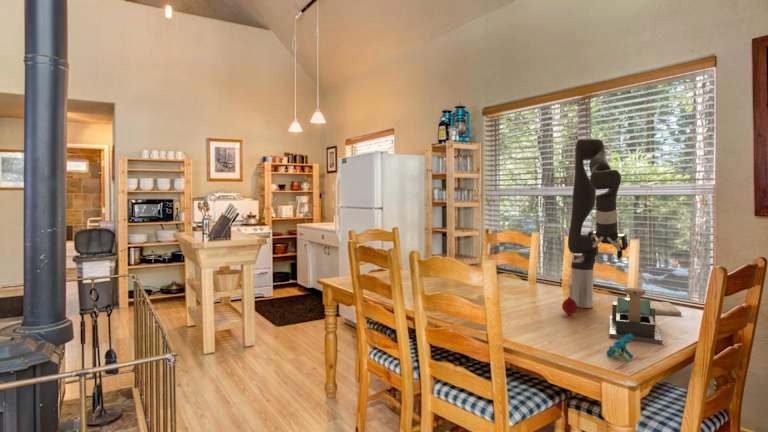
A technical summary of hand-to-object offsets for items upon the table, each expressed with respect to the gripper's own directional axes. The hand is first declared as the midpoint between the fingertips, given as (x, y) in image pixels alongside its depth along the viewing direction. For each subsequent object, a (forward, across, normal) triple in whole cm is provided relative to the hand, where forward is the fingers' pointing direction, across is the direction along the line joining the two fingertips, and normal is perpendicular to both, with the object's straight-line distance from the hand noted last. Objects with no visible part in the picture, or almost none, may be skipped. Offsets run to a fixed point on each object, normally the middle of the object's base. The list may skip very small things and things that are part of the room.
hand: (607, 256), depth 183 cm
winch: (+21, -14, +16) cm, 30 cm away
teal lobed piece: (+10, -18, +48) cm, 52 cm away
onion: (+24, +12, +13) cm, 29 cm away
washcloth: (+35, -14, -22) cm, 44 cm away
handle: (+18, -15, +21) cm, 31 cm away
